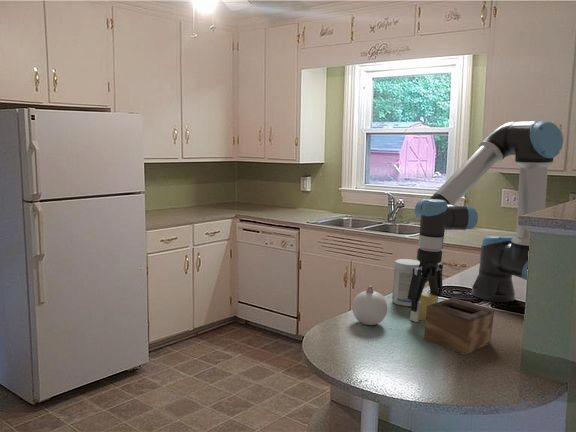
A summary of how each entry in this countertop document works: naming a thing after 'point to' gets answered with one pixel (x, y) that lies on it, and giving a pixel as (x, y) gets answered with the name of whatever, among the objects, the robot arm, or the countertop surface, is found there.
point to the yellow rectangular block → (426, 304)
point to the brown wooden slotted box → (458, 325)
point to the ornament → (369, 307)
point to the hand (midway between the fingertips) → (423, 317)
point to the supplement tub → (403, 280)
